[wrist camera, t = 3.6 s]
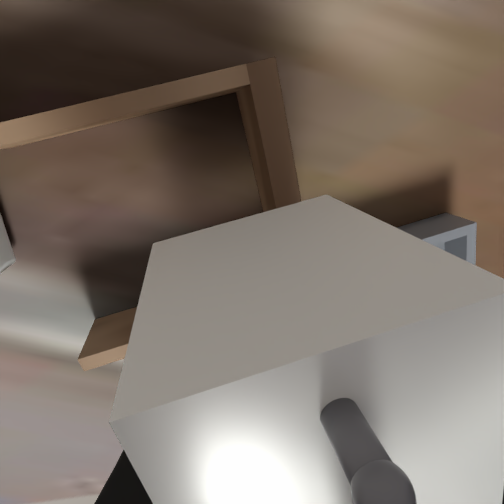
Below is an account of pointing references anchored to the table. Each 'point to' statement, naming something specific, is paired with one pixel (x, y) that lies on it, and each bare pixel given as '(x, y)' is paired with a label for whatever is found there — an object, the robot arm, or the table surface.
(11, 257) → the skincare box
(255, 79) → the walnut bay
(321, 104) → the table surface
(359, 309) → the white drawer with handle
